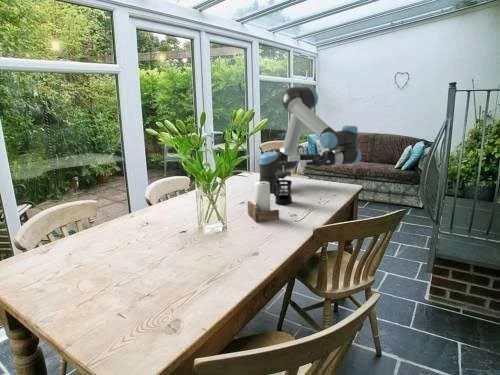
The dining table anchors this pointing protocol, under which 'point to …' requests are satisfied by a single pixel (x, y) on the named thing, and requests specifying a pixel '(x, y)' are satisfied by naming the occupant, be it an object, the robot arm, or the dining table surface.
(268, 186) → the roll
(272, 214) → the holder
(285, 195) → the french press
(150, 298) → the dining table surface
